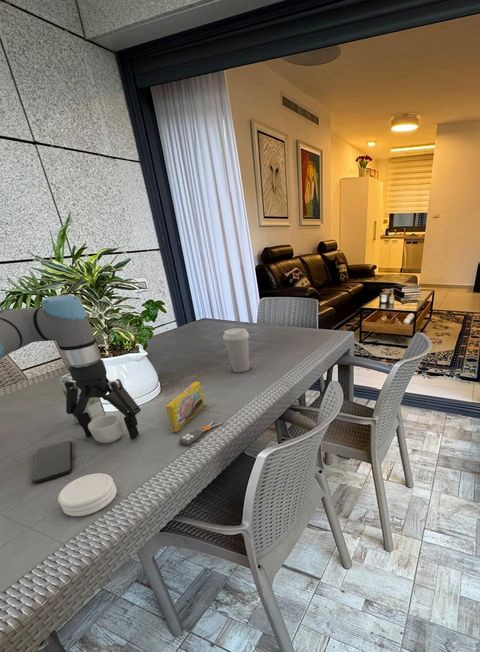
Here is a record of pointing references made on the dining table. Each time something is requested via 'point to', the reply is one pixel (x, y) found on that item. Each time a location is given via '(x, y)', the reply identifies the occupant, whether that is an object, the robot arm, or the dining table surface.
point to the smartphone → (52, 461)
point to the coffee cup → (237, 348)
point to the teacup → (106, 428)
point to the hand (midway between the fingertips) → (113, 435)
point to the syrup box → (93, 405)
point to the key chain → (195, 434)
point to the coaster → (87, 494)
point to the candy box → (185, 406)
